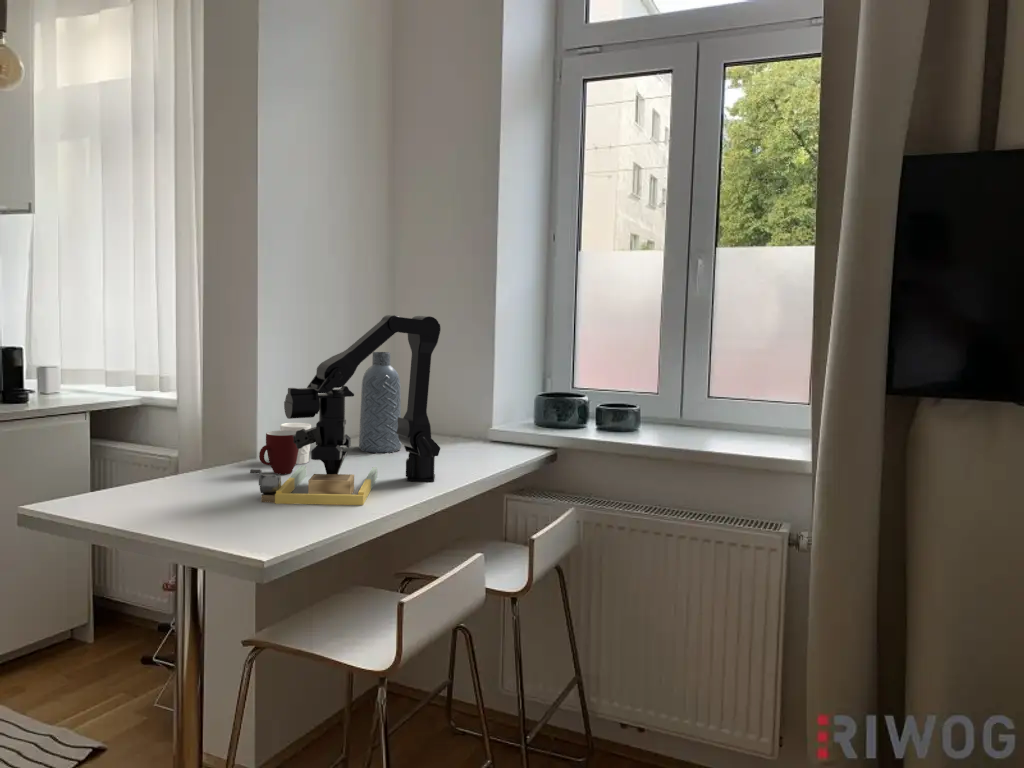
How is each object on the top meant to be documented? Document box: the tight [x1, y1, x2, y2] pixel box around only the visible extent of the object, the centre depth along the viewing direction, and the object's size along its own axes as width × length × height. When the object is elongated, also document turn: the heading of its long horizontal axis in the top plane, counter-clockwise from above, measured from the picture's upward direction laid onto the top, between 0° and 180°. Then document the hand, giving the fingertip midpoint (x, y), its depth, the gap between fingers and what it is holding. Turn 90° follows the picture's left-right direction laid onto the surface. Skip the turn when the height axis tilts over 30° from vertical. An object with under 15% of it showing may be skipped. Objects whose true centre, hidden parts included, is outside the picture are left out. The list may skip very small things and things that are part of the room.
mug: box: [258, 430, 299, 475], centre depth 203 cm, size 11×8×10 cm
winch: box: [249, 468, 282, 503], centre depth 177 cm, size 6×4×7 cm, turn 93°
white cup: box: [279, 422, 312, 465], centre depth 218 cm, size 8×8×10 cm
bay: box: [274, 465, 378, 506], centre depth 189 cm, size 18×28×2 cm, turn 3°
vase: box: [358, 351, 402, 454], centre depth 239 cm, size 12×12×28 cm
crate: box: [307, 473, 355, 494], centre depth 184 cm, size 9×7×4 cm
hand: (331, 483), depth 190 cm, fingers closed
